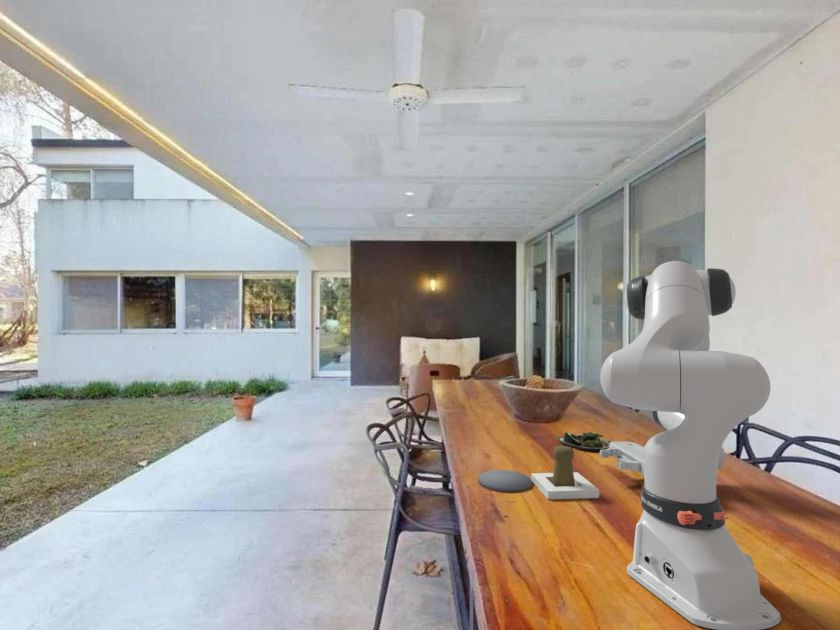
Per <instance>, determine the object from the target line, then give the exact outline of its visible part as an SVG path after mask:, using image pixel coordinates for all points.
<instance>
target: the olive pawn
mask: <svg viewBox="0 0 840 630" xmlns="http://www.w3.org/2000/svg"><path fill="white" fill-rule="evenodd" d="M552 455H553V458H554V466H553V472H552V473H553V481H552V484H553V485H554V486H555V487H563V486H575V481H574V474H573V472H574V468H573V462H572V461H573V459H574V455H575V453H574V449H573V448H570V447H568V446H564V445H557V446H555V447H554V448H553V450H552Z"/></svg>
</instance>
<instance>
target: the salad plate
mask: <svg viewBox="0 0 840 630" xmlns="http://www.w3.org/2000/svg"><path fill="white" fill-rule="evenodd" d="M603 437H604V435H603V434H600V433H598V432H596V431H594V433H593V432H591V431H589V432H584V431H583V432H582V434H580V433H579V434H574V433H570V432H568V431H565V433H564V436H556V437H555V439H557V440H559V442H560V443H561V445H562V444H563V445H562V446H564V445H565V446H568V447H571V448H572V449H573V448H575V449H574V450H577V449H578V451H581V450H582V452H587V451H589V453H600V450H606V449H608V448H609V444H610V443H611V442H616V441H614V440H613V439H607V438H606V439H605V438H603ZM605 446H606V447H605Z"/></svg>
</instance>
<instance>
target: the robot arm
mask: <svg viewBox="0 0 840 630" xmlns="http://www.w3.org/2000/svg"><path fill="white" fill-rule="evenodd" d="M736 290H737V289H736V286H735V283H734V280H733V279H732V278H731V276H730V274H729V272H728V271H726V270H725V269H721V268H713V267H712V268H711V267H709V268H706V269H696V268H695V267H694V266H693V265H691V264H689V263H687V262H684V261H679V260H671V261H666V262H664V263H662V264H659V265H658V266H657V267H656V268H655V269H654V270H653V271H652V273H651V274H650V275H646V276H645V275H640V276H637V277H634V278H632V279H631V280H630V281H629V282H628V283H627V285H626V289H625V292H624V302H625V303H624V304H625V306H626V308H627V310H628V312H629V314H630V316H632V317H633V318H635V319H636V320H643V326H642V329H641V332H640V333H639V334H638V336H637V337H636V338H635V339H634V340H633V341H632V342H630V343H629V344H628V345H626V346H624V347H623V348H620V349H618V350H616V351H613V352H612V353H610V354H609V355H608V356H607V358H606V359H605V361H604V362H603V363H602V365H601V369H600V373H599V374H600V375H599V381H600V385H601V388H602V391H603V393H604V395H605V396H606V398H607V399H608V400H609V401H610V402H611V403H612V404H615V405H618V406H623V407H627V408H630V409H634V410H639V411H651V412H652V418H653V420H654V422H655V423H656V424H657V425H658V426H659V427H661V428H663V429H665V431H662V432H661V431H660V432H659V433H657V434H655V435H653V436H652V437H650V438H649V439H648V441H647V442H646V443H645V445H644V446H642V445H640V444H639V443H636V442H633V441H615V442H611V443H610V444H609V448H608V449H606V450H600V452H599V456H600V457H602V458H603V459H607V458H608V459H609V457H613V458H615V459H616V460H618V461H617V462H616V467H617V468H618V469H619V470H621V471H623V470H627V471H633V472H638V473H639V474H641V475H643V476H644V478H643V479H644V483H643V484H642V486H641V492H640V499H641V507H642V509H643V511H642V514H641V516H640V518H639V520H638V521H637V523H636V524H635V525H636V526H635V533H634V541H633V543H634V544H633V555H632V561H631V562H629V564H628V565H627V566H626V574H627V575H628V576H629V577H631V578H632V579H634V580H635V581H636V582H638V583H639V584H640V585H642V586H643V587H644V588H645V589H646V590H648V591H649V592H651V593H652V594H653V595H655V596H656V597H657V598H658V599H660V600H661V601H662V602H664V603H665V604H666V605H668V606H669V608H670V609H671V608H672V609H673V610H674V611H675V612H677V613H678V614H679V615H681V616H682V617H683V618H684V619H686V620H687V621H689V623H692V624H693V625H695V626H698V627H703V628H706V629H711V630H766V629H770V628H772V627H775V626H776V625H778V624H779V623H780V622H781V620H782V618H781V613H780V611H778V610H777V608H776V607H774V606H773V605H772V603H770V602H769V601H768V600H767V598H766V597H764V595H762V594H761V590H760V589H761V588H760V581H759V577H758V573H757V571H756V569H755V565H754V560H753V558H752V556H751V555H749V554H747V553H744V552H743V550H742V549H741V548H740V546H739V544H738V543H737V542H736V540H735V539H734V537H733V536H732V534H731V533H730V532H729V530H728V529H727V528H726V525H725V524H726V520H729V517H725V516H726V515H729V512H728V511H723V506H722V504H721V501H720V498H719V497H718V494H717V480H718V479H717V477H718V470H721V468H722V467H723V466H724V464H725V460H726V453H725V452H726V451H725V450H724V447H723V445H724V443H725V440H726V439H727V438H728V436H729V435H730V434H731V432H732V431H733V430H734V429H735V428H736V427H737V426H738V425H739V424H741V423H742V422H743V421H745V420H746V419H748V418H750V417H751V416H753V415H756V414H757V413H758V412H760V411H761V410H762V409H763V408H764V406H765V405H766V403H767V402H768V399H769V397H770V393H771V380H770V377H769V374H768V372H767V370H766V368H765V367H764V366H763V365H762V364H761V362H760V361H759V360H757V359H756V358H755V357H753V356H747V355H744V354H740V353H734V352H727V351H724V350H723V351H722V350H719V351H718V350H710V345H711V344H710V343H711V342H710V330H711V325H710V319H709V318H710V316H712V317H715V316H719V315H722V314H725V313H727V312H729V310H730V309H732V308H733V304H734V301H735V299H736V293H737V291H736Z"/></svg>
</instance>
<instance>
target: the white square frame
mask: <svg viewBox="0 0 840 630" xmlns="http://www.w3.org/2000/svg"><path fill="white" fill-rule="evenodd" d="M553 473H554V472H543V473H540V472H538V473H536V472H535V473H534V472H533V473H530V479H531V483H532V484H535V485H536V486H537V487H538V488H537V487H536V486H535V485H534V486H535V487H536V488H537V490H539V491H540V493H541V494H544V495H543V496H544V497H545V498H546V499H547V500H549V499H550V500H573V499H574V500H575V499H578V500H579V499H580V498H581V499H599V498H600V489H599V488H597V486H595V485H594V484H593V483H592V482H590V481H589V480H588V479H587V478H585V477H584V476H583V475H581V474H580V473H579V472H577V471H575V472H574V471H573V474H574V481H575V486H563V487H555V486H554V485H553V484H552V481H553Z"/></svg>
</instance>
